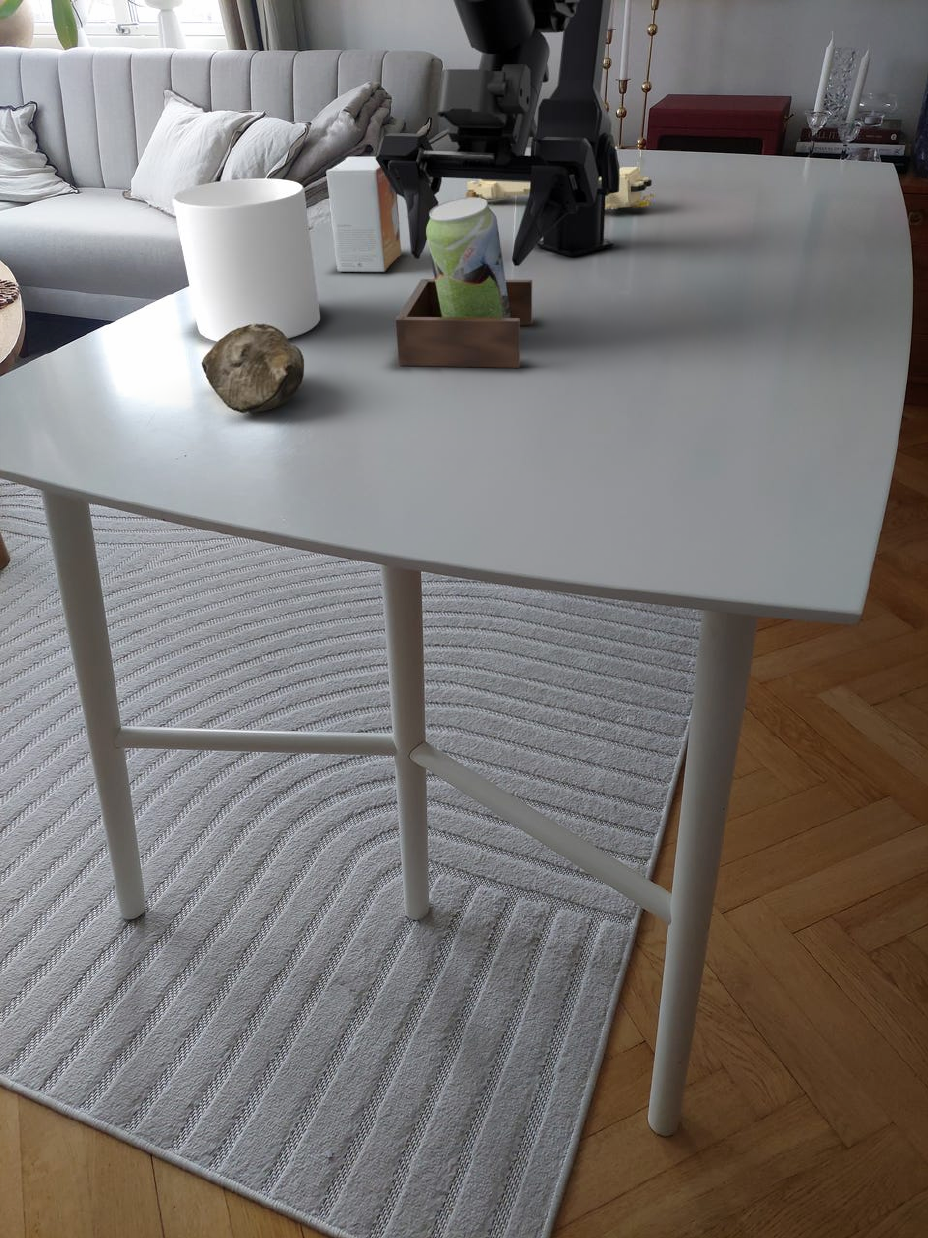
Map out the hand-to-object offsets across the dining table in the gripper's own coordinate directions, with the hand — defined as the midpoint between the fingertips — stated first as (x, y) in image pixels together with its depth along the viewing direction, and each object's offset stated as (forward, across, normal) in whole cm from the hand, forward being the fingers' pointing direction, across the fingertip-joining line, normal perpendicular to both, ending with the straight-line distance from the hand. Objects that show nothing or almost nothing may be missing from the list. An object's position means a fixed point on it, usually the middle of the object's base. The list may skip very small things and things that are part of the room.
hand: (464, 259), depth 82 cm
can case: (+5, 0, +6) cm, 8 cm away
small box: (-10, -21, +21) cm, 31 cm away
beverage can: (+5, 0, +6) cm, 8 cm away
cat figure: (-32, -8, +43) cm, 54 cm away
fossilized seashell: (+16, -12, -6) cm, 21 cm away
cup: (+5, -22, +6) cm, 23 cm away
